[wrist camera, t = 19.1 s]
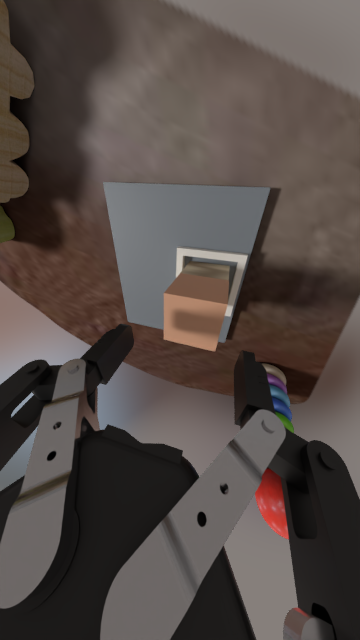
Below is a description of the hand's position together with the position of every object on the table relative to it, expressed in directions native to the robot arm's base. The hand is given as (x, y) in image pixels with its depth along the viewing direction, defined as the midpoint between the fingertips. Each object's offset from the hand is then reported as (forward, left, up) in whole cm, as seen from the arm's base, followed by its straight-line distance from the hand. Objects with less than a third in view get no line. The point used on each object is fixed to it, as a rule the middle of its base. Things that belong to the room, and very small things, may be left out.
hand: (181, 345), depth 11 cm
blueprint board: (-4, 0, -14) cm, 14 cm away
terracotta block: (0, 0, -8) cm, 8 cm away
